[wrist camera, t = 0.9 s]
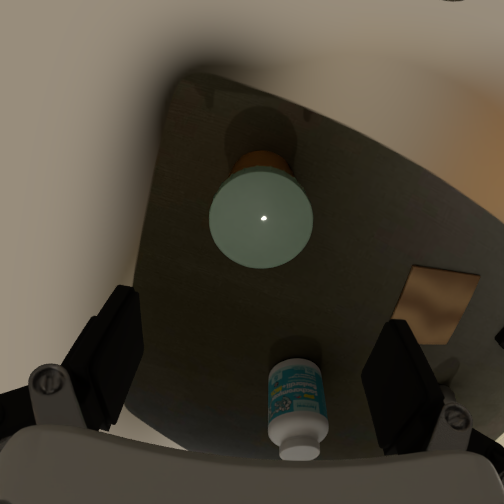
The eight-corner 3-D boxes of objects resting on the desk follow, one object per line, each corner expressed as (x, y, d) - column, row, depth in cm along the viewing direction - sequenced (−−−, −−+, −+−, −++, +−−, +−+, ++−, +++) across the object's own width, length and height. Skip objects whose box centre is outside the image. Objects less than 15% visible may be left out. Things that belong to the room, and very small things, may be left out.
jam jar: (240, 141, 29) (228, 160, 20) (303, 162, 30) (322, 191, 20) (221, 201, 32) (203, 247, 22) (281, 220, 33) (288, 272, 23)
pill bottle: (315, 350, 41) (329, 435, 28) (323, 383, 44) (335, 460, 32) (261, 361, 42) (260, 446, 30) (275, 393, 45) (276, 470, 33)
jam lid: (227, 152, 21) (224, 156, 19) (324, 184, 22) (330, 191, 20) (201, 241, 24) (197, 252, 22) (289, 267, 25) (291, 280, 23)
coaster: (412, 264, 34) (413, 266, 34) (479, 275, 35) (480, 276, 34) (379, 341, 40) (380, 343, 39) (445, 342, 40) (446, 344, 40)
